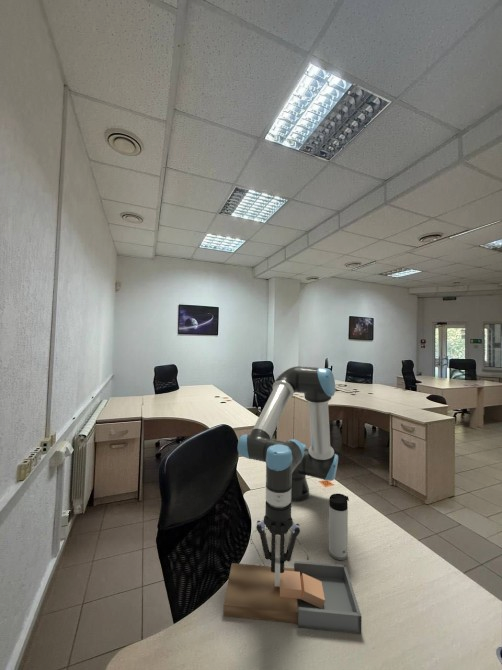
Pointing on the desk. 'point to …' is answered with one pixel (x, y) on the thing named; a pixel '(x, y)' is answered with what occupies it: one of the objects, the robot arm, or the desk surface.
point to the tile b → (312, 591)
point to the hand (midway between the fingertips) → (277, 582)
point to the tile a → (290, 585)
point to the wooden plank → (257, 595)
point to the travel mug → (338, 526)
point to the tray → (330, 600)
